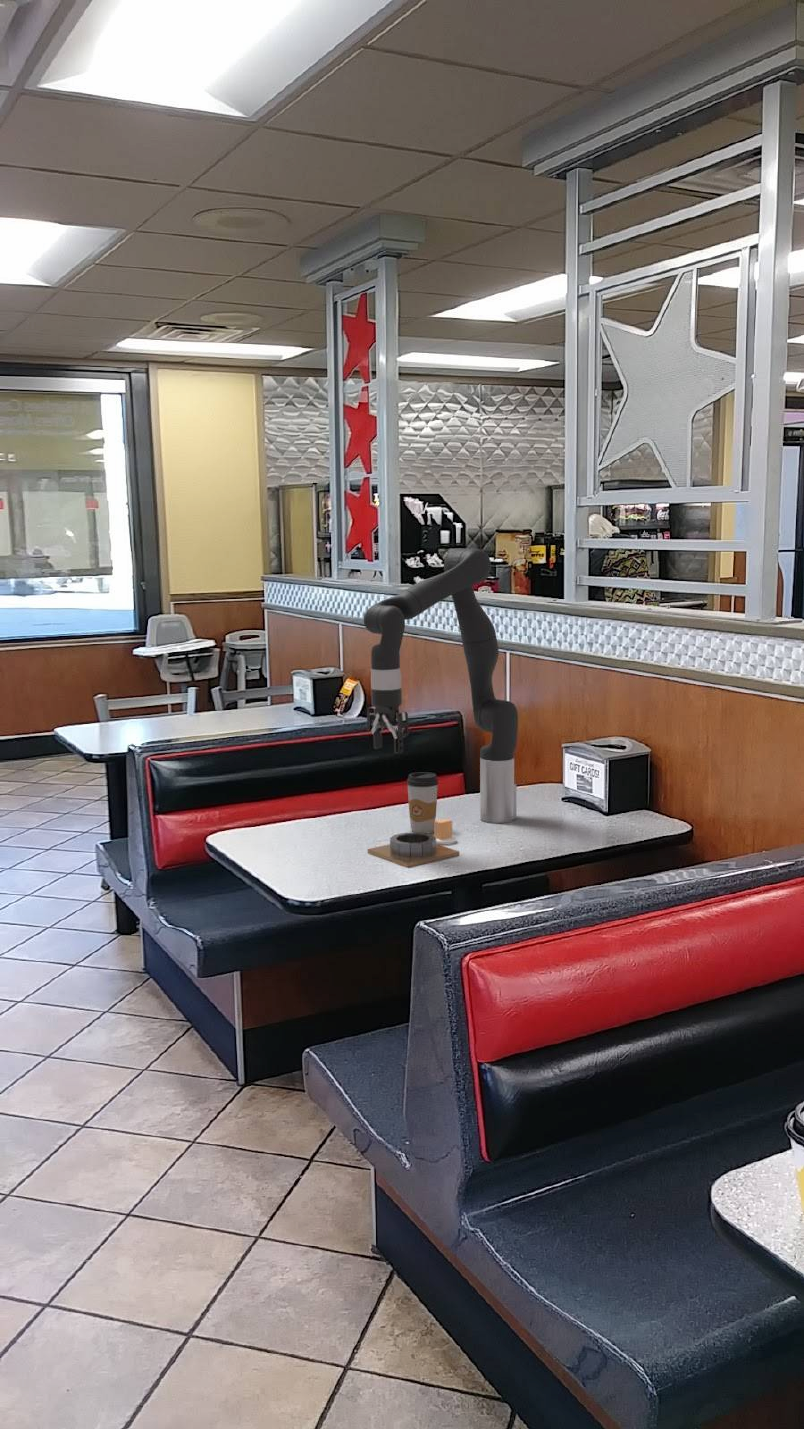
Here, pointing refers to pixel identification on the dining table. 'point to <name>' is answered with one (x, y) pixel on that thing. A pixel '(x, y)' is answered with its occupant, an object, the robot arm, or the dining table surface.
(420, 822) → the coffee cup
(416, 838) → the board with grey ring
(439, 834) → the cap
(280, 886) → the dining table surface
